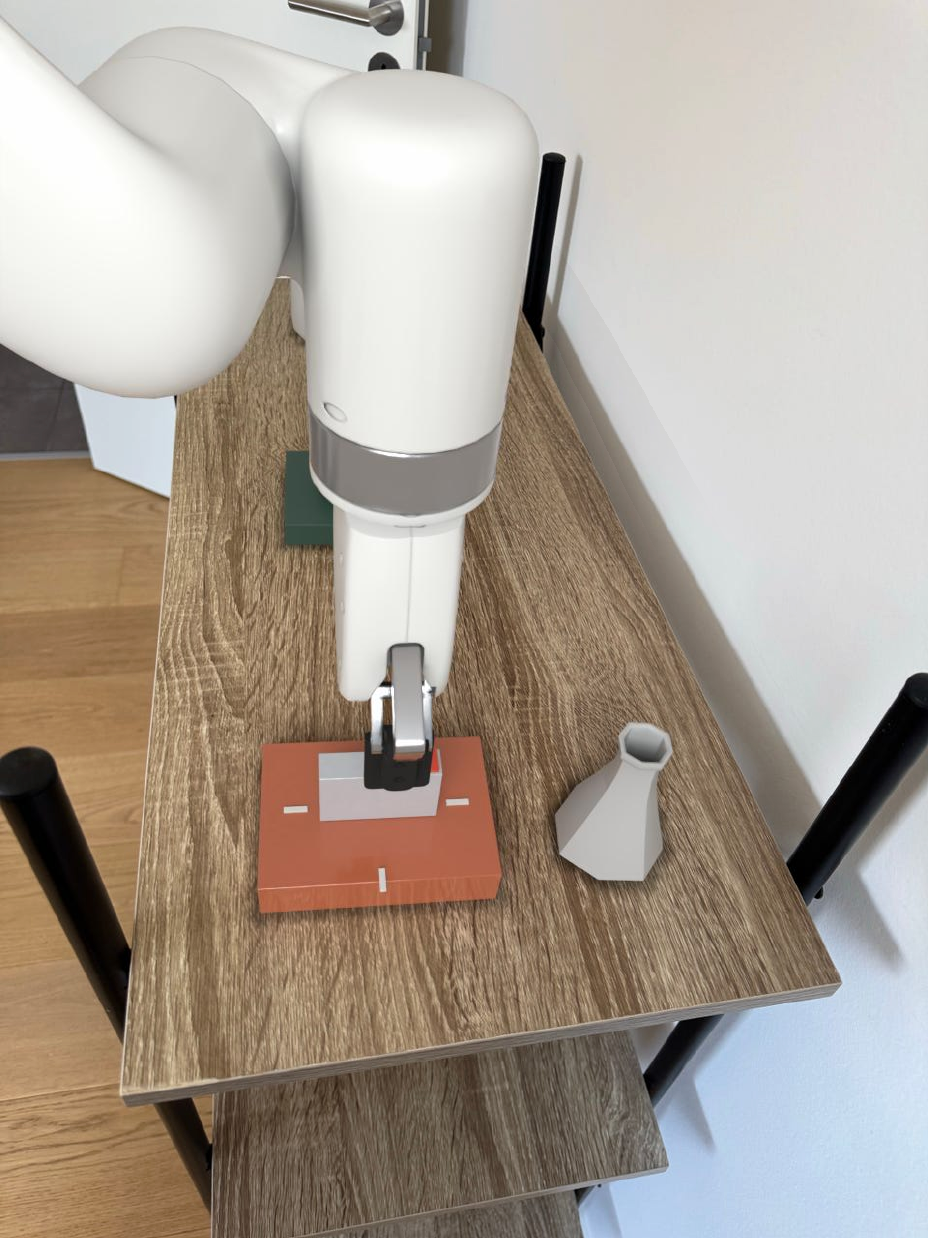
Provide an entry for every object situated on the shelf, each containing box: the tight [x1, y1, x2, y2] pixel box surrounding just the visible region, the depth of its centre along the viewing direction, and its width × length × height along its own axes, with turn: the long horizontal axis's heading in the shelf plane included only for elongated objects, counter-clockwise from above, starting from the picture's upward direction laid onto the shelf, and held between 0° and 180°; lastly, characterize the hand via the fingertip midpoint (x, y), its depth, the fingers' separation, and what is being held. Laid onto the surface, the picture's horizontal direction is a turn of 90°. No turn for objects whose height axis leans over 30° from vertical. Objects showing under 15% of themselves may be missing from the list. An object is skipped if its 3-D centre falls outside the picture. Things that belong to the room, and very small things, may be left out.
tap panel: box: [256, 735, 503, 914], centre depth 56 cm, size 14×11×3 cm
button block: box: [284, 450, 334, 546], centre depth 78 cm, size 12×10×4 cm
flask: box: [554, 721, 674, 882], centre depth 56 cm, size 7×7×10 cm
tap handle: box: [319, 749, 442, 821], centre depth 54 cm, size 7×2×5 cm, turn 97°
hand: (390, 705), depth 48 cm, fingers open, 9 cm apart
